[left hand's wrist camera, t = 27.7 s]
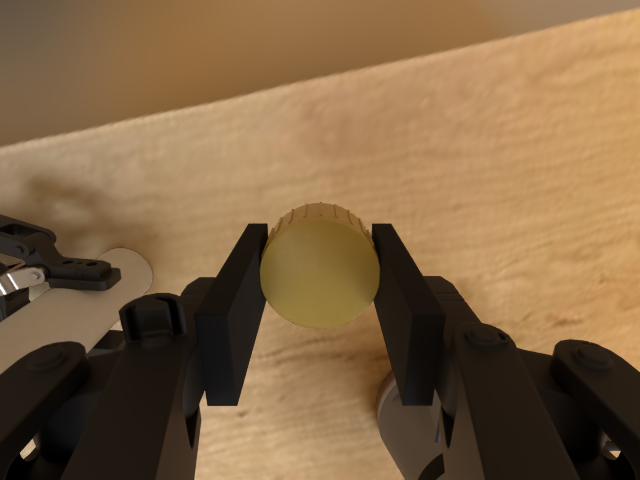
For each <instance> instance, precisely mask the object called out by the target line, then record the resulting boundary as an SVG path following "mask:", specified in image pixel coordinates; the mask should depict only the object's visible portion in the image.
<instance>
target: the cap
mask: <svg viewBox="0 0 640 480" xmlns="http://www.w3.org/2000/svg"><path fill="white" fill-rule="evenodd" d="M374 246H375V245H374V243H373V240H372V238H371V235H370V233H369V230H366V228H365V226H364V225H363V224H362V221H361V219H360V218H359V219H358V218H357V217H356V216H355V215H353V214H352V213H351V212H350V210H348V211H347V210H345V209H343V208H341V207H339V206H337V205H336V204H334V205H331V204H324V203H322V202H320V203H315V204H308V205H307V204H305V205H304V206H301V207H299V208H296V209H292V210H291V212H289V213H288V214H286V215H285V216H284V217H283V218H282V217H281V218H280V220H279V222H278V223H277V225H276V226H275V228H272V230H271V233H270V235H269V238H268V240H267V242H266V245H265V248H264V250H263V253H262V255H261V258H262V260H261V263H260V281H261V289H262V292H263V294H264V296H265V298H266V300H267V301H268V303H269V304H270V306H271V307H272V308H273V309H274V310H275V311H276V312H277V313H278V314H279V315H281V316H282V317H283V318H285V319H286V320H288V321H290V322H292V323H294V324H297V325H300V326H303V327H308V328H317V329H323V328H332V327H336V326H340V325H343V324H345V323H348V322H350V321H352V320H353V319H355V318H356V317H358V316H359V315H361V314H362V313H363V312H364V311H365V310H366V309H367V308H368V307H369V305H370V304H371V303H372V301H373V299H374V298H375V296H376V293H377V291H378V288H379V278H380V264H379V260H378V255H377V253H376V250H375V248H374Z"/></svg>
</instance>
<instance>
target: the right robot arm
mask: <svg viewBox="0 0 640 480" xmlns="http://www.w3.org/2000/svg"><path fill="white" fill-rule="evenodd" d="M55 242H56V236H55V234H54V233H53V232H52V231H51V230H49V229H46V228H42V227H39V226H36V225H33V224H29V223H26V222H23V221H19V220H16V219H13V218H9V217H6V216H3V215H0V253H2V254H6V255H9V256H13V257H16V258H20V259H23V261H19V262H15V263H11V264H7V265H4V264H3V263H1V262H0V322H2V321H3V320H5V319H6V318H8V317H9V316H11V315H12V314H14V313H15V312H17V311H18V310H20V309H21V308H23V307H24V306H26V305H27V304H29V303H30V300H29V287H30V286H34V285H38V284H41V283H43V282H49V286H50V288H65V289H76V290H90V291H106V290H109V289H111V288H112V287H113V286H114V285H115V284H116V283H118V282H119V281H120V280H121V279H122V278H121V270H120V269H119V268H114V267H111V263H108V262H106V261H103V260H91V259H89V260H88V259H78V258H67V256H65V255H64V254H61V253H59V252H58V251H57V250H56V248H55V246H54V245H53V244H54V243H55ZM125 343H126V341H125V337H124V333H123V331H118V330H109V331H108V332H107V333H106V334H105V335H104V336H103V337H102V338H101V339H100V340H99V341H98V342H97V344H96V345H95V346H94V347H93V348H92V349H91V350H90V351H89V352H88V353H87V356H88V357H91V356H96V355H101V354H106V353H111V352H115V351H119V350H123V348H124V346H125Z"/></svg>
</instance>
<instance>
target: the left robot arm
mask: <svg viewBox="0 0 640 480" xmlns="http://www.w3.org/2000/svg"><path fill="white" fill-rule="evenodd" d="M371 238H372V240H373V243H374V245H375V246H374V248H375V250H376V253H377V255H378V260H379V264H380V278H379V288H378V291H377V293H376V296H375V298H374V299H373V300H374V304H375V308H376V311H377V315H378V319H379V322H380V326H381V330H382V333H383V337H384V340H385V344H386V348H387V351H388V355H389V359H390V362H391V366H392V369H393V370H392V372H391V373H390V374H389V375H388V376H387V378H386V379H385V380H384V382H383V384H382V386H381V388H380V390H379V393H378V396H377V401H376V415H377V421H378V426H379V431H380V435H381V438H382V440H383V442H384V444H385V446H386V447H387V449H388V451H389V453H390V454H391V456H392V458H393V460H394V461H395V463H396V465H397V466H398V468H399V470H400V471H401V473H402V475H403V477H404V478H405V480H640V372H639V371H638V370H636V369H635V368H634V367H633V366H631V365H630V364H629V363H628V362H626V361H625V360H624V359H623V358H621V357H620V356H618V355H617V354H615V353H614V352H612V351H610V350H608V349H606V348H604V347H601V346H600V345H598V344H595V343H592V342H591V343H590V342H588V341H583V340H572V339H569V340H563V341H560V342H559V343H557V344H556V345H555V348H554V351H553V355H547V354H542V353H537V352H532V351H527V350H523V349H519V348H517V347H516V345H515V343H514V341H513V340H512V339H511V338H510V336H509V335H508V334H506V333H505V332H503V331H502V330H500V329H498V328H496V327H493V326H491V325H488V324H484V323H481V322H480V320H479V319H478V318H477V316H476V315H475V314H474V312H473V311H472V309H471V308H470V307H469V305H468V304H467V303H466V302H464V299H463V297H462V296H461V295H460V294H459V292H458V291H457V289H456V288H455V287H454V285H453V284H452V283H450V282H449V281H447V280H446V279H444V278H442V277H441V276H423V275H422V274H421V272H420V271H419V269H418V267H417V266H416V264H415V262H414V261H413V259H412V257H411V256H410V254H409V252H408V251H407V249H406V247H405V246H404V244H403V243H402V241H401V239H400V238H399V236H398V234H397V233H396V231H395V229H394V228H393V226H392V224H372V237H371ZM267 240H268V224H248V226H247V227H246V229H245V231H244V232H243V234H242V236H241V237H240V239H239V240H238V242H237V244H236V245H235V247H234V249H233V250H232V252H231V254H230V255H229V257H228V259H227V260H226V262H225V264H224V265H223V267H222V268H221V270H220V272H219V273H218V275H217V277H199V278H198V279H196V280H195V281H193V282H191V283H190V284H188V285H187V286H186V288H185V289H184V291H183V292H182V293H181V296H177V295H175V294H171V293H155V294H149V295H145V296H142V297H139V298H136V299H134V300H132V301H130V302H128V303H127V304H125V305H124V306H123V307H122V308H121V309H120V310H119V311H118V312H119V316H120V320H121V324H122V329H123V333H124V337H125V341H126V343H125V346H124V348H123V350H119V351H115V352H111V353H106V354H101V355H96V356H91V357H88V356H87V352H86V349H85V346H83V345H82V344H81V343H79V342H74V341H65V342H56V343H51V344H48V345H44V346H42V347H40V348H38V349H36V350H34V351H31V352H29V353H28V354H26V355H25V356H23V357H22V358H20V359H19V360H17V361H16V362H15V363H14V364H12V365H11V366H10V367H9V368H7V369H6V370H5V371H4V372H3V373H1V374H0V480H194V477H195V468H196V460H197V452H198V443H199V435H200V427H201V414H200V407H199V403H200V401H201V398H202V396H203V393H204V391H205V392H206V399H207V406H237V405H238V401H239V398H240V394H241V390H242V387H243V383H244V379H245V376H246V372H247V369H248V365H249V361H250V358H251V354H252V350H253V347H254V343H255V340H256V336H257V332H258V329H259V325H260V321H261V318H262V314H263V311H264V307H265V303H266V298H265V296H264V294H263V292H262V289H261V281H260V263H261V260H262V258H261V255H262V253H263V250H264V248H265V245H266V242H267ZM607 437H609V438H610V440H611V441H606V440H607ZM32 439H33V441H34V443H35V446H36V447H35V449H34V450H33V451H32V452H31V453H30V454H29V455H28V456H27V457H26V458H24V459H23V458H22V457H21V455H20V452H21V451H22V450H23V449H24V448H25V446H26V445H27V444H28V443H29V442H30V441H31V440H32ZM610 451H621V452H620V454H619V456H618V457H617V458H616V457H615V456H614V455H613V454H612V453H611V452H610Z"/></svg>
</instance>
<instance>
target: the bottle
mask: <svg viewBox="0 0 640 480" xmlns="http://www.w3.org/2000/svg"><path fill="white" fill-rule="evenodd" d="M95 260H103V261H106V262H108V263H111V267H114V268H119V269H120V270H121V278H122V279H121V280H120V281H119V282H118V283H116V284H115V285H114V286H113V287H112V288H111V289H109V290H106V291H90V290H76V289H65V288H51V289H50V290H48V291H47V292H45V293H44V294H42V295H41V296H39V297H38V298H36V299H35V300H33V301H32V302H30V303H29V304H27V305H26V306H24V307H23V308H21V309H20V310H18V311H17V312H15V313H14V314H12V315H11V316H9V317H8V318H6V319H5V320H3V321H2V322H0V374H1V373H3V372H4V371H5V370H6V369H7V368H9V367H10V366H11V365H12V364H14V363H15V362H16V361H17V360H19V359H20V358H22V357H23V356H25V355H26V354H28V353H29V352H31V351H34V350H36V349H38V348H40V347H42V346H44V345H48V344H51V343H56V342H65V341H74V342H79V343H81V344H82V345H83V346H85V349H86V352H87V353H88V352H89V351H90V350H91V349H92V348H93V347H94V346H95V345H96V344H97V342H98V341H99V340H100V339H101V338H102V337H103V336H104V335H105V334H106V333H107V332H108V331H109V330H110V329H111V328H112V327H113V326H114V325H115V324H116V323H117V322H118V320H119V319H120V316H119V312H118V311H119V310H120V309H121V308H122V307H123V306H124V305H125V304H127V303H128V302H130V301H132V300H134V299H136V298H139V297H141V296H142V295H143V294H144V293H145V292H146V291H147V290H148V289H149V288H150V286H151V284H152V279H153V274H152V270H151V267H150V265H149V264H148V262H147V261H146V260H145V258H143V257H142V256H141V255H140V254H138V253H137V252H135V251H133V250H130V249H126V248H115V249H111V250H109V251H107V252H105V253H104V254H102V255H101V256H99V257H98V258H96V259H95Z"/></svg>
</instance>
